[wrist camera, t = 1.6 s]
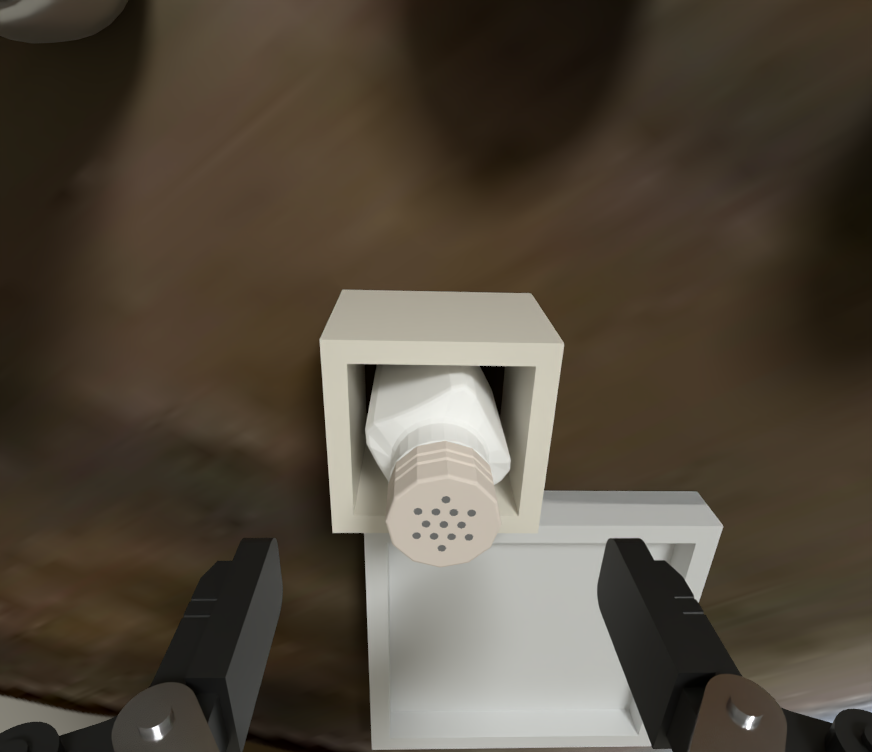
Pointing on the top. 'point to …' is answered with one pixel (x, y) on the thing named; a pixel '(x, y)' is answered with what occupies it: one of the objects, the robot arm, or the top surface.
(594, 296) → the top surface
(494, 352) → the holder
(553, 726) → the tray
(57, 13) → the plastic bottle
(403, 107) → the top surface
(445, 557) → the pepper shaker
